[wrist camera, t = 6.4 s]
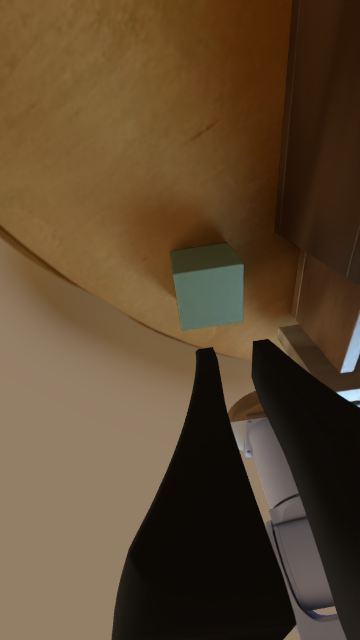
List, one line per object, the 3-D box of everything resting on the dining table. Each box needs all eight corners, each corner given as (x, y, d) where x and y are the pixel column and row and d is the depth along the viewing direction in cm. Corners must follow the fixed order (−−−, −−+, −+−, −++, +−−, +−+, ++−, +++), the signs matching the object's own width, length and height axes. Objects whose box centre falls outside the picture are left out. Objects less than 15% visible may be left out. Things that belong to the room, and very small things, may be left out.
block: (228, 293, 19) (243, 322, 16) (177, 301, 19) (181, 331, 16) (227, 242, 17) (244, 262, 14) (169, 250, 17) (172, 273, 14)
